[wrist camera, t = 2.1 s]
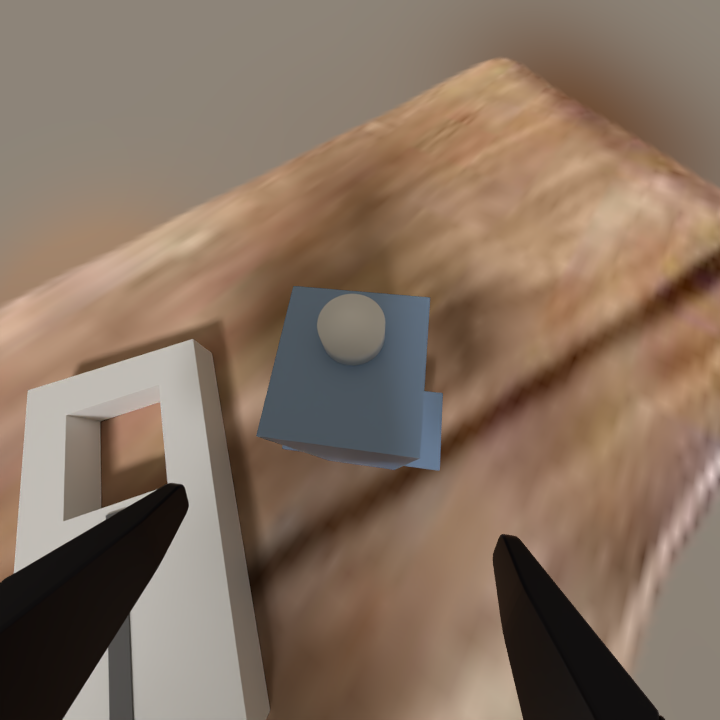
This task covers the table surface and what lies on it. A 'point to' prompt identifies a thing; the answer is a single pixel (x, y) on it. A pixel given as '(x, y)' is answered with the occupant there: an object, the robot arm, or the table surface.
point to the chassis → (184, 556)
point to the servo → (354, 380)
